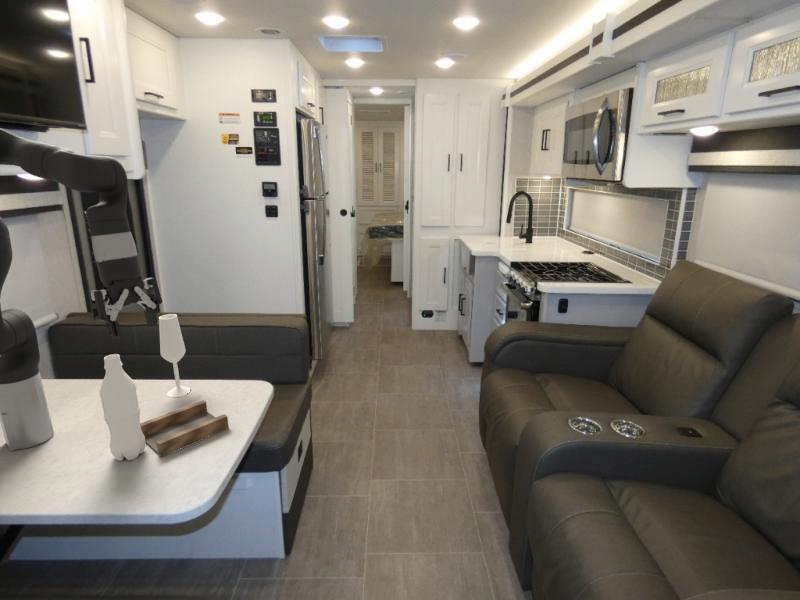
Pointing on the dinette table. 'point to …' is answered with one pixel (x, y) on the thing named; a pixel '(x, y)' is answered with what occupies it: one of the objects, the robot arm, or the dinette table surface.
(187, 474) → the dinette table surface
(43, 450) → the dinette table surface
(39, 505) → the dinette table surface
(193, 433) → the walnut cradle
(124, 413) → the water bottle
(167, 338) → the champagne flute
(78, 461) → the dinette table surface
